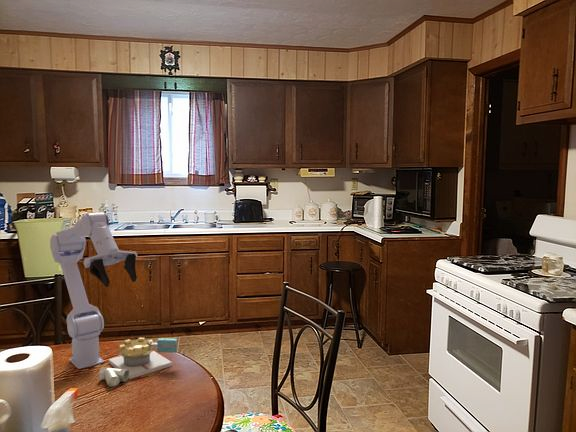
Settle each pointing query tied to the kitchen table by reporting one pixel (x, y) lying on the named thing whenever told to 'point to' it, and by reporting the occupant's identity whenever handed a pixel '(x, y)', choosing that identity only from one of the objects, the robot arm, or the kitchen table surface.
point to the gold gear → (147, 347)
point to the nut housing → (141, 364)
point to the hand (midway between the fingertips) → (121, 282)
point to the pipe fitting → (114, 375)
